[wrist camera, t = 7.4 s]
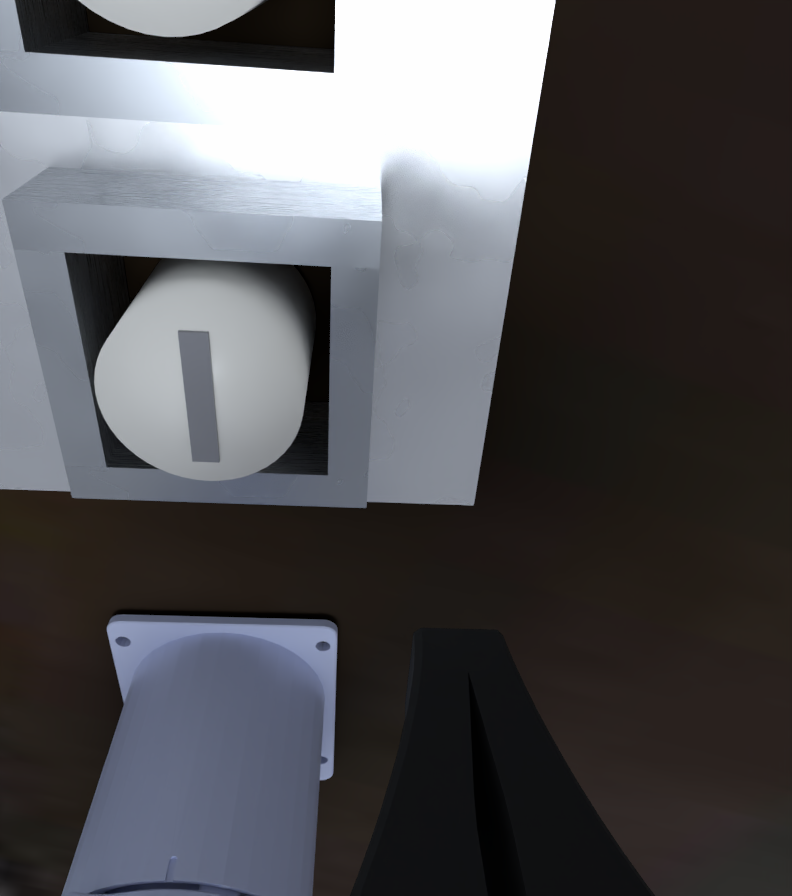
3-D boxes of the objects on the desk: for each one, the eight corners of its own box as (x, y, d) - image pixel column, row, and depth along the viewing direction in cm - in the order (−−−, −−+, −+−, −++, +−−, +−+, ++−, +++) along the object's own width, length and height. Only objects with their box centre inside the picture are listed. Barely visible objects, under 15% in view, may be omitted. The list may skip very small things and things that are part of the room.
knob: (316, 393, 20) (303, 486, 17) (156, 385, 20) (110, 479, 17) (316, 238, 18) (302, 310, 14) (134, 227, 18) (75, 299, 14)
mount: (470, 485, 23) (483, 562, 20) (10, 468, 22) (-44, 546, 19) (625, -516, 12) (708, -667, 9) (-306, -626, 11) (-552, -832, 8)
